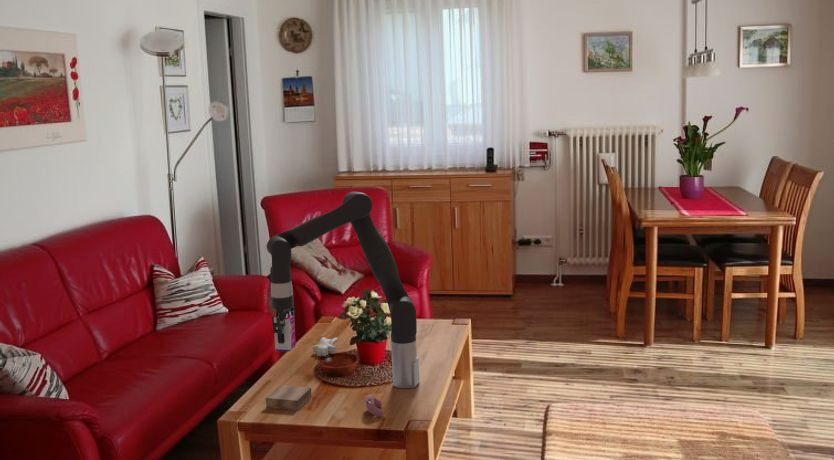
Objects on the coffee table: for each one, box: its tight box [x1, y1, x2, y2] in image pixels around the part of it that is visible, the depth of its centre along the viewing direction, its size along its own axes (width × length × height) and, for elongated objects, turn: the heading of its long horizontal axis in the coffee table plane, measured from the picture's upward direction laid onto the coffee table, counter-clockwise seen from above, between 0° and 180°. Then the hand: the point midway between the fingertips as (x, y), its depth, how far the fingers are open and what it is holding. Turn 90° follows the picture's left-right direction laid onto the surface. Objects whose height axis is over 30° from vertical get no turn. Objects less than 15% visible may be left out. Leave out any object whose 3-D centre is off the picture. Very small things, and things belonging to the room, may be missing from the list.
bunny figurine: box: [312, 336, 339, 357], centre depth 351 cm, size 10×5×15 cm
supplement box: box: [274, 316, 296, 352], centre depth 295 cm, size 6×6×12 cm
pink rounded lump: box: [364, 393, 384, 418], centre depth 288 cm, size 10×5×7 cm, turn 5°
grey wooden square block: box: [265, 384, 313, 411], centre depth 300 cm, size 12×12×4 cm
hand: (285, 340), depth 295 cm, fingers closed on supplement box, 6 cm apart
